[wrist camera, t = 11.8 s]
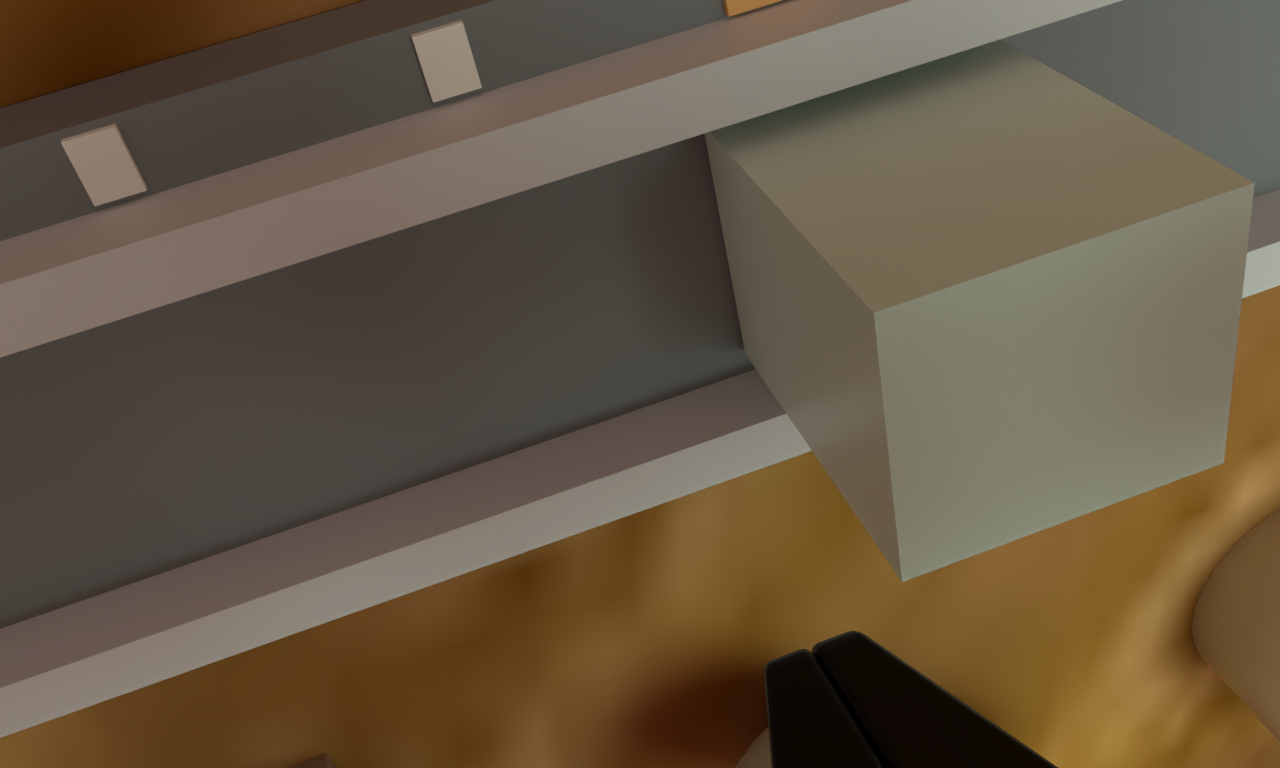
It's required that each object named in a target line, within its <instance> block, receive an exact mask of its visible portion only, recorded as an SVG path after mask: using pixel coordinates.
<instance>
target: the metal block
mask: <svg viewBox="0 0 1280 768" xmlns="http://www.w3.org/2000/svg"><path fill="white" fill-rule="evenodd" d="M291 768H336V767H335V765H334V764H333V762H332V761H331V760H330V758H329V757H328V755H327V754H326V753H325V754H322V755H320V756H317V757H315V758H313V759H310V760H308V761H305V762H303V763H300V764H298V765H296V766H293V767H291Z"/></svg>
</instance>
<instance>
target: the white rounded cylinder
mask: <svg viewBox="0 0 1280 768" xmlns="http://www.w3.org/2000/svg"><path fill="white" fill-rule="evenodd" d="M1192 638H1193V643H1194V645H1195V648H1196V650H1197V652H1198V653H1199V655H1200V656H1201V657H1202V658H1203V660H1204V661H1205V662H1206V663H1207V664H1208V665H1209V666H1210V667H1211V668H1212V669H1213V670H1214V671H1215V673H1216V674H1217V675H1218V676H1219V677H1220V678H1221V679H1222V680H1223V681H1224V682H1225V683H1226V684H1227V686H1228V687H1229V688H1230V689H1231V690H1232V691H1233V692H1234V693H1235V694H1236V695H1237V696H1238V697H1239V699H1240V700H1241V701H1242V702H1243V703H1244V704H1245V705H1246V706H1247V707H1248V708H1249V709H1250V710H1251V712H1252V713H1253V714H1254V715H1255V716H1256V717H1257V718H1258V719H1259V720H1260V721H1261V722H1262V723H1263V725H1264V726H1265V727H1266V728H1267V729H1268V730H1269V731H1270V732H1271V733H1272V734H1273V735H1274V736H1275V738H1276V739H1277V740H1278V741H1279V742H1280V508H1279V509H1278V510H1276V511H1274V512H1273V513H1271V514H1270V515H1269V516H1267V517H1266V518H1265V519H1263V520H1262V521H1261V522H1259V523H1258V524H1257V525H1256V526H1254V527H1253V528H1252V529H1251V530H1250V531H1249V532H1247V533H1246V534H1245V535H1244V536H1243V537H1242V538H1241V539H1240V540H1239V541H1238V542H1237V543H1236V544H1235V545H1234V546H1233V547H1232V548H1231V549H1230V550H1229V552H1228V553H1227V554H1226V555H1225V556H1224V557H1223V559H1222V560H1221V561H1220V562H1219V564H1218V565H1217V567H1216V568H1215V569H1214V571H1213V572H1212V573H1211V575H1210V577H1209V579H1208V580H1207V582H1206V584H1205V585H1204V587H1203V589H1202V591H1201V594H1200V596H1199V598H1198V600H1197V603H1196V606H1195V610H1194V614H1193V619H1192Z"/></svg>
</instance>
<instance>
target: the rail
mask: <svg viewBox="0 0 1280 768" xmlns="http://www.w3.org/2000/svg"><path fill="white" fill-rule="evenodd" d="M999 39H1001V40H1002V41H1004V42H1006V43H1008V44H1009V45H1011V46H1013V47H1015V48H1017V49H1018V50H1020V51H1022V52H1024V53H1025V54H1027V55H1029V56H1031V57H1033V58H1034V59H1036V60H1038V61H1040V62H1041V63H1043V64H1045V65H1047V66H1049V67H1050V68H1052V69H1054V70H1056V71H1057V72H1059V73H1061V74H1063V75H1064V76H1066V77H1068V78H1070V79H1072V80H1073V81H1075V82H1077V83H1079V84H1080V85H1082V86H1084V87H1086V88H1088V89H1089V90H1091V91H1093V92H1095V93H1096V94H1098V95H1100V96H1102V97H1104V98H1105V99H1107V100H1109V101H1111V102H1112V103H1114V104H1116V105H1118V106H1119V107H1121V108H1123V109H1125V110H1127V111H1128V112H1130V113H1132V114H1134V115H1135V116H1137V117H1139V118H1141V119H1143V120H1144V121H1146V122H1148V123H1150V124H1151V125H1153V126H1155V127H1157V128H1159V129H1160V130H1162V131H1164V132H1166V133H1167V134H1169V135H1171V136H1173V137H1174V138H1176V139H1178V140H1180V141H1182V142H1183V143H1185V144H1187V145H1189V146H1190V147H1192V148H1194V149H1196V150H1198V151H1199V152H1201V153H1203V154H1205V155H1206V156H1208V157H1210V158H1212V159H1214V160H1215V161H1217V162H1219V163H1221V164H1222V165H1224V166H1226V167H1228V168H1229V169H1231V170H1233V171H1235V172H1237V173H1238V174H1240V175H1242V176H1244V177H1245V178H1247V179H1249V180H1251V181H1253V182H1254V183H1255V185H1254V194H1253V203H1252V212H1251V221H1250V230H1249V239H1248V248H1247V257H1246V266H1245V275H1244V284H1243V293H1242V298H1245V297H1248V296H1251V295H1253V294H1256V293H1259V292H1262V291H1265V290H1267V289H1270V288H1273V287H1276V286H1279V285H1280V0H365V1H362V2H358V3H355V4H352V5H348V6H345V7H341V8H338V9H335V10H331V11H328V12H325V13H321V14H318V15H314V16H311V17H308V18H304V19H301V20H297V21H294V22H291V23H287V24H284V25H280V26H277V27H274V28H270V29H267V30H263V31H260V32H257V33H253V34H250V35H247V36H243V37H240V38H236V39H233V40H230V41H226V42H223V43H219V44H216V45H213V46H209V47H206V48H202V49H199V50H196V51H192V52H189V53H186V54H182V55H179V56H175V57H172V58H169V59H165V60H162V61H158V62H155V63H152V64H148V65H145V66H141V67H138V68H135V69H131V70H128V71H124V72H121V73H118V74H114V75H111V76H108V77H104V78H101V79H97V80H94V81H91V82H87V83H84V84H80V85H77V86H74V87H70V88H67V89H63V90H60V91H57V92H53V93H50V94H47V95H43V96H40V97H36V98H33V99H30V100H26V101H23V102H19V103H16V104H13V105H9V106H6V107H2V108H0V738H1V737H4V736H7V735H10V734H13V733H16V732H18V731H21V730H24V729H27V728H30V727H32V726H35V725H38V724H41V723H44V722H47V721H49V720H52V719H55V718H58V717H61V716H64V715H66V714H69V713H72V712H75V711H78V710H81V709H83V708H86V707H89V706H92V705H95V704H97V703H100V702H103V701H106V700H109V699H112V698H114V697H117V696H120V695H123V694H126V693H129V692H131V691H134V690H137V689H140V688H143V687H146V686H148V685H151V684H154V683H157V682H160V681H162V680H165V679H168V678H171V677H174V676H177V675H179V674H182V673H185V672H188V671H191V670H194V669H196V668H199V667H202V666H205V665H208V664H211V663H213V662H216V661H219V660H222V659H225V658H227V657H230V656H233V655H236V654H239V653H242V652H244V651H247V650H250V649H253V648H256V647H259V646H261V645H264V644H267V643H270V642H273V641H276V640H278V639H281V638H284V637H287V636H290V635H292V634H295V633H298V632H301V631H304V630H307V629H309V628H312V627H315V626H318V625H321V624H324V623H326V622H329V621H332V620H335V619H338V618H341V617H343V616H346V615H349V614H352V613H355V612H357V611H360V610H363V609H366V608H369V607H372V606H374V605H377V604H380V603H383V602H386V601H389V600H391V599H394V598H397V597H400V596H403V595H406V594H408V593H411V592H414V591H417V590H420V589H422V588H425V587H428V586H431V585H434V584H437V583H439V582H442V581H445V580H448V579H451V578H454V577H456V576H459V575H462V574H465V573H468V572H471V571H473V570H476V569H479V568H482V567H485V566H487V565H490V564H493V563H496V562H499V561H502V560H504V559H507V558H510V557H513V556H516V555H519V554H521V553H524V552H527V551H530V550H533V549H536V548H538V547H541V546H544V545H547V544H550V543H552V542H555V541H558V540H561V539H564V538H567V537H569V536H572V535H575V534H578V533H581V532H584V531H586V530H589V529H592V528H595V527H598V526H601V525H603V524H606V523H609V522H612V521H615V520H617V519H620V518H623V517H626V516H629V515H632V514H634V513H637V512H640V511H643V510H646V509H649V508H651V507H654V506H657V505H660V504H663V503H666V502H668V501H671V500H674V499H677V498H680V497H682V496H685V495H688V494H691V493H694V492H697V491H699V490H702V489H705V488H708V487H711V486H714V485H716V484H719V483H722V482H725V481H728V480H731V479H733V478H736V477H739V476H742V475H745V474H747V473H750V472H753V471H756V470H759V469H762V468H764V467H767V466H770V465H773V464H776V463H779V462H781V461H784V460H787V459H790V458H793V457H796V456H798V455H801V454H804V453H807V452H810V451H812V450H811V449H810V447H809V446H808V444H807V443H806V441H805V440H804V439H803V437H802V436H801V434H800V433H799V431H798V430H797V428H796V427H795V425H794V424H793V423H792V421H791V420H790V418H789V417H788V415H787V414H786V412H785V411H784V409H783V408H782V406H781V405H780V404H779V402H778V401H777V399H776V398H775V396H774V395H773V393H772V392H771V390H770V389H769V388H768V386H767V385H766V383H765V382H764V380H763V379H762V377H761V376H760V374H759V373H758V372H757V370H756V369H755V367H754V366H753V364H752V363H751V361H750V360H749V358H748V357H747V356H746V354H745V350H744V344H743V339H742V333H741V328H740V323H739V317H738V312H737V307H736V301H735V296H734V290H733V285H732V280H731V274H730V269H729V263H728V258H727V253H726V247H725V242H724V236H723V231H722V226H721V220H720V215H719V209H718V204H717V199H716V193H715V188H714V182H713V177H712V172H711V166H710V161H709V155H708V150H707V145H706V139H705V134H704V133H707V132H710V131H714V130H717V129H720V128H723V127H726V126H729V125H732V124H736V123H739V122H742V121H745V120H748V119H751V118H754V117H758V116H761V115H764V114H767V113H770V112H773V111H776V110H780V109H783V108H786V107H789V106H792V105H795V104H798V103H802V102H805V101H808V100H811V99H814V98H817V97H820V96H824V95H827V94H830V93H833V92H836V91H839V90H842V89H846V88H849V87H852V86H855V85H858V84H861V83H864V82H868V81H871V80H874V79H877V78H880V77H883V76H886V75H890V74H893V73H896V72H899V71H902V70H905V69H908V68H911V67H915V66H918V65H921V64H924V63H927V62H930V61H933V60H937V59H940V58H943V57H946V56H949V55H952V54H955V53H959V52H962V51H965V50H968V49H971V48H974V47H977V46H981V45H984V44H987V43H990V42H993V41H996V40H999Z"/></svg>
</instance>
